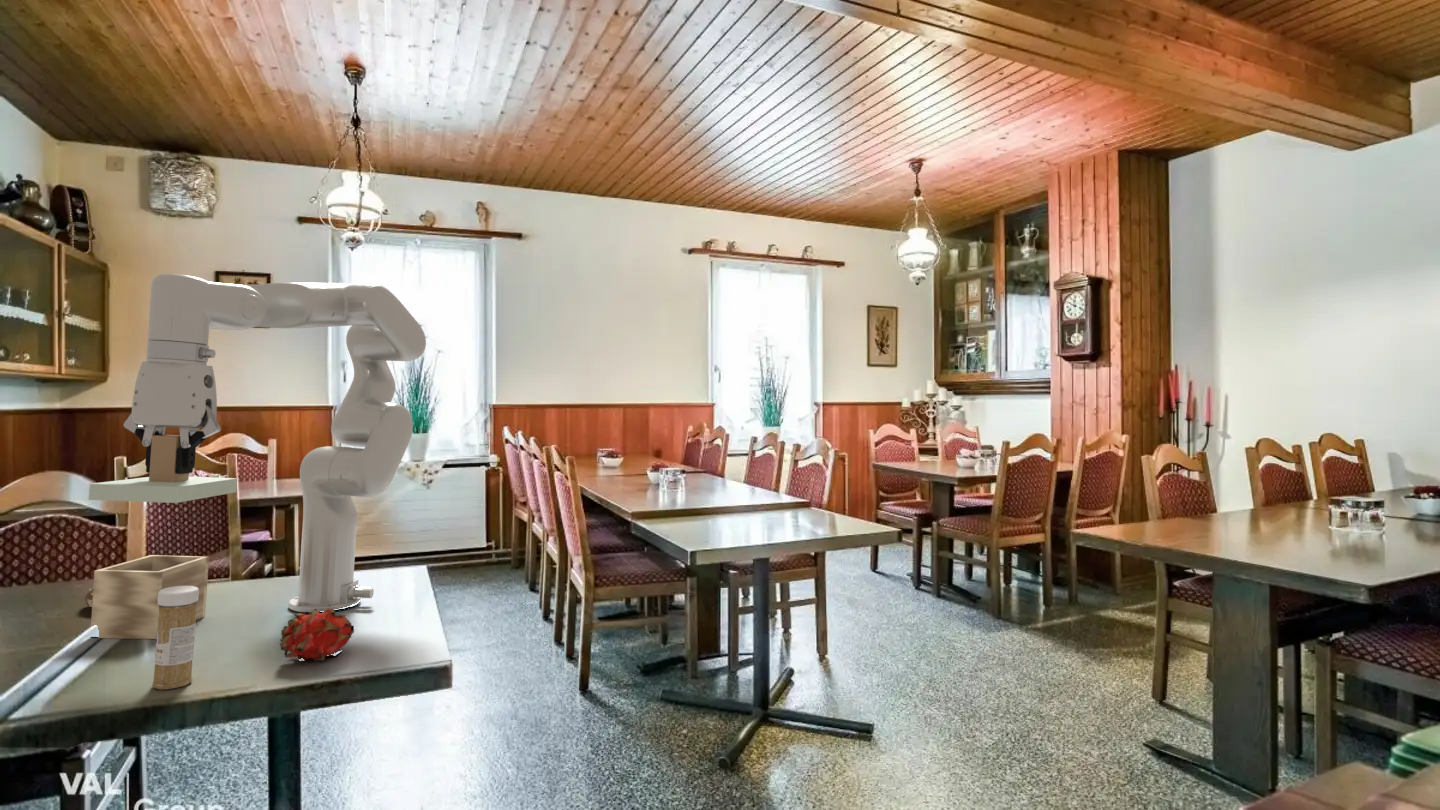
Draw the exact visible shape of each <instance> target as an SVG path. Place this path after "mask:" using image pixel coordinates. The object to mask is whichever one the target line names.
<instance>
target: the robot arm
mask: <svg viewBox="0 0 1440 810" xmlns="http://www.w3.org/2000/svg"><path fill="white" fill-rule="evenodd" d="M149 303H150V304H149V314H148V315H149V318H148V330H147V331H148V332H147V333H148V334H147V343H146V345H147V346H146V356H145V357H146V359H145V361H142V362H141V365H140V366H139V369H138V372H137V377H136V380H135V385H134V390H133V396H132V401H131V402H132V403H131V404H132V405H131V413H130V414H129V416H128V417H127V419H125V421H124V423H123V427H124V428H125V429H127V430H128V431H129V432H132V433H133V434H134V435H135V436H136V437H137V438H138V440H140V441H141V444H142V446H143V447H146V451H145V462H144V463H145V467H146V468H145V472H146V473H150V458H151V444H152V436H153V435H166V428H176V429H177V428H179V436H180V441H181V448H177V456H176V471H175V472H176V474H186V473H189V474H191V473H193V472H194V468H195V464H196V449H197V448H199V447H200V446H201V444H202V443H203V442H204V441H206V439H208V438H209V437H210V436H213V435H215V434H217V433H219V432H221V430H222V427H221V425H220V423H219V422H218V420H217V417H218V416H217V414H218V413H217V411H218V403H217V402H218V401H217V400H218V399H217V398H218V397H217V395H218V394H217V385H216V384H217V383H216V377H215V373H214V367H213V366H212V365H208V364H207V363H208V362H209V359H215V357H216V350H214V349H212V348H211V349H210V345H209V337H210V336H209V334H210V330H224V331H227V330H228V331H229V330H234V331H241V330H242V331H243V330H250V329H252V328H255V327H257V328H258V327H259V328H270V329H310V328H312V329H313V328H314V329H315V328H328V327H330V328H331V327H347V326H350V327H349V329H348V330H347V332H346V333H347V334H346V338H345V339H346V340H345V342H346V343H345V344H346V347H347V350H348V353H349V355H350V359H351V361H352V362H351V363H352V366H353V379H352V381H351V383H350V386H349V388H348V390H347V392H346V394H345V396H344V398H343V399H342V402H341V404H340V406H339V408H338V409H337V412H336V413H335V415H334V418H333V421H332V423H331V427H330V432H331V436H332V438H333V440H335V441H337V443H340V444H342V445H345V446H336V445H331V446H329V445H327V446H326V445H325V446H320V447H316V448H314V449H312V450H311V451H309V452H308V453H306V455H305V456H304V457H303V459H302V460H301V462H300V463H301V464H300V466H299V479H300V487H301V491H302V501H303V502H302V503H303V504H302V505H303V508H302V509H303V513H302V531H301V543H300V544H301V545H300V561H299V562H300V563H299V580H298V581H299V582H298V593H297V594H298V596H295V597H293V598H291V599H290V600H289V601H288V609H290V610H291V611H294V612H298V613H306V612H312V611H313V610H314V609H317V611H318V612H320V611H326V610H327V609H329V608H332V609H333V610H334V609H339V608H343V607H347V606H350V605H352V604H355V603H357V602H358V601H359V600H360V599H361V600H362V599H372V598H373V597H374V591H375V590H374V588H373V587H372V586H361V585H360V584H359V579H354V576H355V575H354V574H355V561H356V560H355V558H356V557H355V556H356V542H357V541H356V540H357V525H358V513H357V509H356V504H355V503H354V500H353V499H352V498H353V497H360V498H374V497H378V496H379V495H382V494H383V493H384V492H385V491H386V490H387V489H388V487H389V486H390V485H391V483H392V481H393V479H394V477H395V475H396V472H397V471H398V468H399V466H400V464H401V461H402V460H403V457H404V455H405V453H406V450H407V448H408V446H409V443H410V441H411V438H412V434H413V428H414V426H413V425H414V424H413V423H414V422H413V419H412V418H413V417H412V415H411V413H410V411H409V410H408V409H407V408H406V407H405V406H403V405H402V404H399V403H396V402H395V403H394V402H392V401H393V398H394V395H395V392H396V381H395V378H394V376H393V375H394V374H392V370H391V369H390V367H389V364H388V362H390V361H391V362H412V361H415V360H417V359H419V358H421V356H422V355H423V354H424V353H425V350H426V346H427V338H426V335H425V332H424V329H423V328H422V327H421V325H420V324H419V322H418V321H417V320H416V318H415V317H414V316H413V315H412V314H411V313H410V311H409V310H408V309H407V308H406V307H405V305H404V304H403V303H402V302H401V301H400V300H399V299H398V297H396V296H395V294H394V293H392V291H390V290H389V289H388V288H386V287H385V286H383V285H381V284H378V283H353V282H352V283H350V282H349V283H345V282H344V283H343V282H338V283H337V282H328V283H327V282H299V281H298V282H296V281H293V282H271V283H261V284H240V283H239V284H238V283H236V284H235V283H227V282H225V283H223V282H217V281H214V282H213V281H208V280H206V279H203V278H200V277H197V276H193V275H189V274H187V275H186V274H180V273H160V274H157V275H155V276H154V277H153V279H152V281H151V285H150V301H149ZM144 426H145V427H144ZM200 428H202V429H200ZM347 446H348V447H347ZM349 446H350V447H349ZM358 447H359V448H358Z"/></svg>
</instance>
